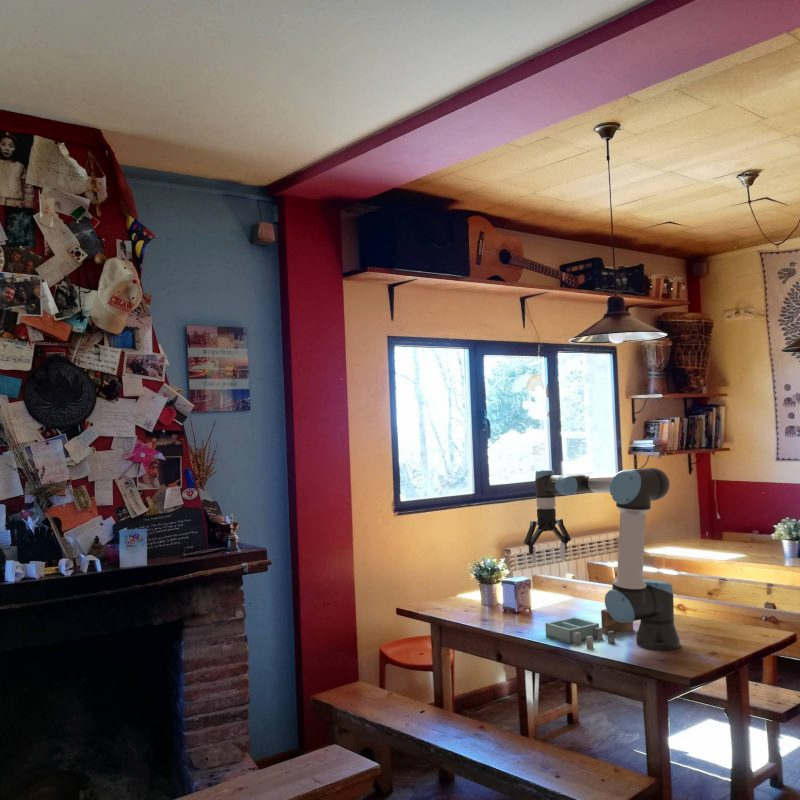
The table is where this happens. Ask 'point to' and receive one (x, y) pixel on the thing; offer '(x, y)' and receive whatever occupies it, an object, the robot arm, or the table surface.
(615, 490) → the robot arm
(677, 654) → the table surface
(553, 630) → the box
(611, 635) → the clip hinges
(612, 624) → the door
